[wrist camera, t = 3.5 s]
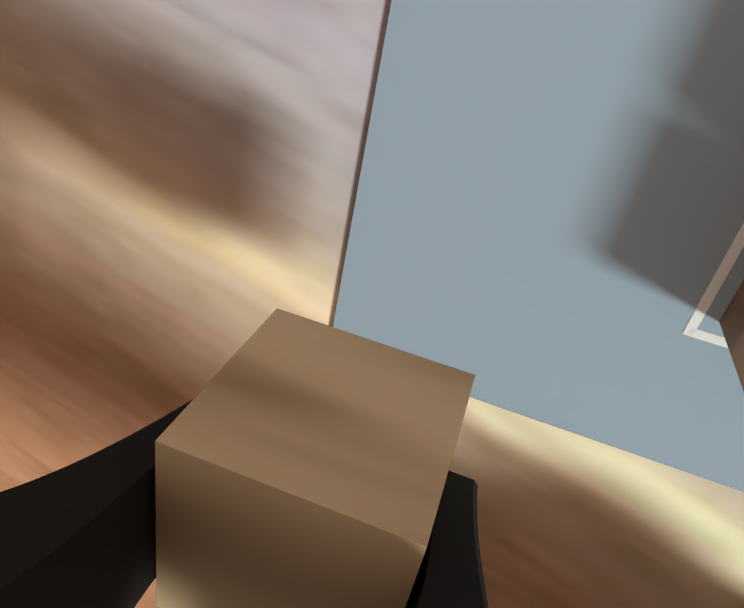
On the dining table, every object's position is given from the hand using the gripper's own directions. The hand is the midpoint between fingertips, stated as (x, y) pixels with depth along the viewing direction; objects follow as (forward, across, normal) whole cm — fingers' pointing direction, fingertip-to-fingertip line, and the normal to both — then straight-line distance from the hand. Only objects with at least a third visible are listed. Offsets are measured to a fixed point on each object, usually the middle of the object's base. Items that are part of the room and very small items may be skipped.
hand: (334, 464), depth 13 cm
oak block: (+2, 0, 0) cm, 2 cm away
